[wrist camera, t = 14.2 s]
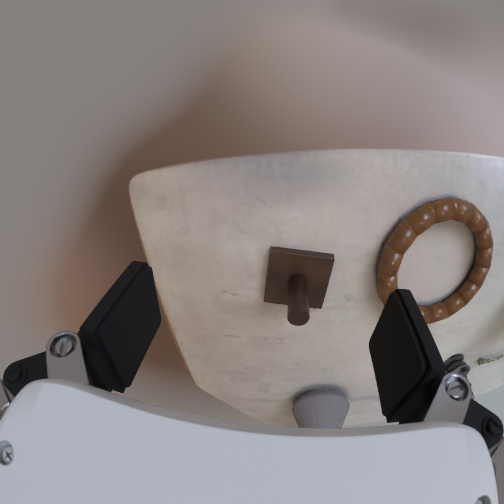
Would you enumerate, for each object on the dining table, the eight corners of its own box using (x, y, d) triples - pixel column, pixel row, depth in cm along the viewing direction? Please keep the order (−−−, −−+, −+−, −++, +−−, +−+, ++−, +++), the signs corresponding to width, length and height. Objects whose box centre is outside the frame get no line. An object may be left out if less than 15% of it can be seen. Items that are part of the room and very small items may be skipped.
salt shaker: (441, 375, 44) (456, 419, 33) (440, 361, 42) (458, 408, 31) (464, 363, 42) (481, 406, 31) (464, 348, 40) (485, 393, 29)
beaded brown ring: (397, 180, 28) (405, 187, 26) (500, 211, 27) (511, 219, 25) (358, 312, 38) (361, 324, 35) (456, 317, 36) (462, 328, 34)
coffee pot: (291, 411, 53) (287, 471, 40) (293, 383, 47) (290, 453, 34) (383, 405, 50) (392, 462, 37) (399, 376, 44) (414, 440, 31)
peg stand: (270, 246, 35) (265, 283, 27) (333, 254, 34) (343, 292, 27) (264, 296, 38) (258, 338, 31) (320, 303, 38) (325, 345, 31)
